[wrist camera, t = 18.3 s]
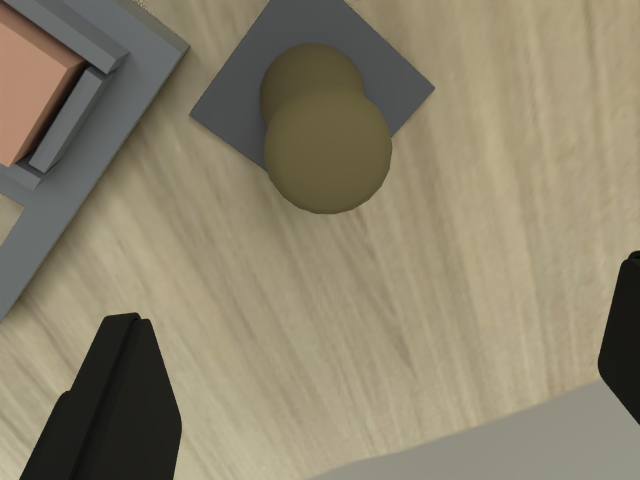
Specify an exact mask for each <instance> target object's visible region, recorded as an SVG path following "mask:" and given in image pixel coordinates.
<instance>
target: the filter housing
mask: <svg viewBox="0 0 640 480" xmlns="http://www.w3.org/2000/svg"><path fill="white" fill-rule="evenodd" d="M3 1H5V2H6V3H8V4H9V5H10V6H12V7H13V8H15V9H16V10H17V11H19V12H20V13H22V14H23V15H24V16H26V17H27V18H29V19H30V20H31V21H33V22H34V23H36V24H37V25H38V26H40V27H41V28H43V29H44V30H45V31H47V32H48V33H50V34H51V35H53V36H54V37H55V38H57V39H58V40H60V41H61V42H62V43H64V44H65V45H67V46H68V47H69V48H71V49H72V50H74V51H75V52H76V53H78V54H79V55H81V56H82V57H83V58H85V59H86V60H88V61H87V63H86V65H85V66H84V68H83V70H82V71H81V73H80V74H79V76H78V78H77V79H76V81H75V83H74V84H73V86H72V88H71V89H70V91H69V93H68V94H67V96H66V97H65V99H64V101H63V102H62V104H61V106H60V107H59V109H58V111H57V112H56V114H55V116H54V117H53V119H52V120H51V122H50V124H49V125H48V127H47V129H46V130H45V132H44V134H43V135H42V137H41V139H40V140H39V142H38V143H37V145H36V147H35V148H34V149H32V150H31V151H30V152H28V153H27V154H26V155H24V156H23V157H22V158H21V159H19V160H18V161H17V162H15V163H14V164H13V165H11V166H10V167H9V168H8V167H6V166H5V165H3V164H1V163H0V193H2V194H4V195H5V196H7V197H9V198H11V199H12V200H14V201H16V202H18V203H19V204H21V205H23V206H25V207H26V208H25V209H24V211H23V212H22V214H21V216H20V217H19V219H18V220H17V222H16V224H15V225H14V227H13V228H12V230H11V231H10V233H9V235H8V236H7V238H6V239H5V241H4V242H3V244H2V246H1V247H0V323H1V322H2V321H3V319H4V318H5V317H6V316H7V314H8V313H9V312H10V310H11V309H12V307H13V306H14V304H15V303H16V301H17V300H18V298H19V297H20V295H21V294H22V293H23V291H24V290H25V288H26V287H27V285H28V284H29V282H30V281H31V279H32V278H33V276H34V275H35V273H36V272H37V270H38V269H39V268H40V266H41V265H42V263H43V262H44V260H45V259H46V257H47V256H48V254H49V253H50V251H51V250H52V248H53V247H54V245H55V244H56V243H57V241H58V240H59V238H60V237H61V235H62V234H63V232H64V231H65V229H66V228H67V226H68V225H69V223H70V222H71V220H72V219H73V217H74V216H75V215H76V213H77V212H78V210H79V209H80V207H81V206H82V204H83V203H84V201H85V200H86V198H87V197H88V195H89V194H90V192H91V191H92V190H93V188H94V187H95V185H96V184H97V182H98V181H99V179H100V178H101V176H102V175H103V173H104V172H105V170H106V169H107V167H108V166H109V164H110V163H111V162H112V160H113V159H114V157H115V156H116V154H117V153H118V151H119V150H120V148H121V147H122V145H123V144H124V142H125V141H126V139H127V138H128V137H129V135H130V134H131V132H132V131H133V129H134V128H135V126H136V125H137V123H138V122H139V120H140V119H141V117H142V116H143V114H144V113H145V111H146V110H147V109H148V107H149V106H150V104H151V103H152V101H153V100H154V98H155V97H156V95H157V94H158V92H159V91H160V89H161V88H162V86H163V85H164V84H165V82H166V81H167V79H168V78H169V76H170V75H171V73H172V72H173V70H174V69H175V67H176V66H177V64H178V63H179V61H180V60H181V59H182V57H183V56H184V54H185V53H186V51H187V50H188V48H189V47H190V45H189V44H188V43H187V42H185V41H184V40H183V39H182V38H180V37H179V36H178V35H176V34H175V33H174V32H173V31H171V30H170V29H169V28H168V27H166V26H165V25H164V24H162V23H161V22H160V21H159V20H157V19H156V18H155V17H154V16H152V15H151V14H150V13H148V12H147V11H146V10H145V9H143V8H142V7H141V6H140V5H138V4H137V3H136V2H134V1H133V0H3Z"/></svg>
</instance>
